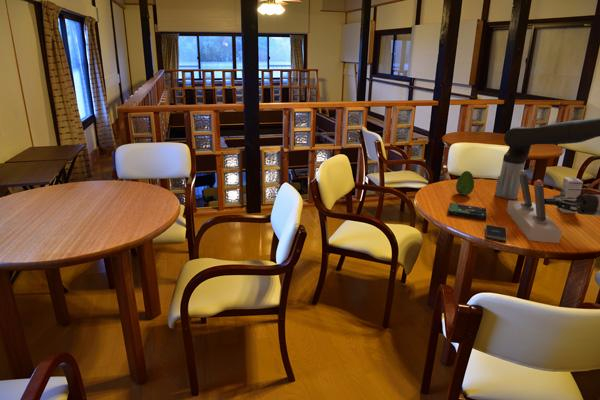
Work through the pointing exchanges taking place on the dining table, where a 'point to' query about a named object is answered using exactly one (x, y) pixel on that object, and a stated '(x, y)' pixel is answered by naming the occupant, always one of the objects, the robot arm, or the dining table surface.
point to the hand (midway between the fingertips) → (542, 200)
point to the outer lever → (539, 199)
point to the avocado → (465, 183)
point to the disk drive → (467, 211)
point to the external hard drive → (495, 233)
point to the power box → (533, 223)
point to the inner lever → (525, 188)
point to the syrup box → (570, 189)
